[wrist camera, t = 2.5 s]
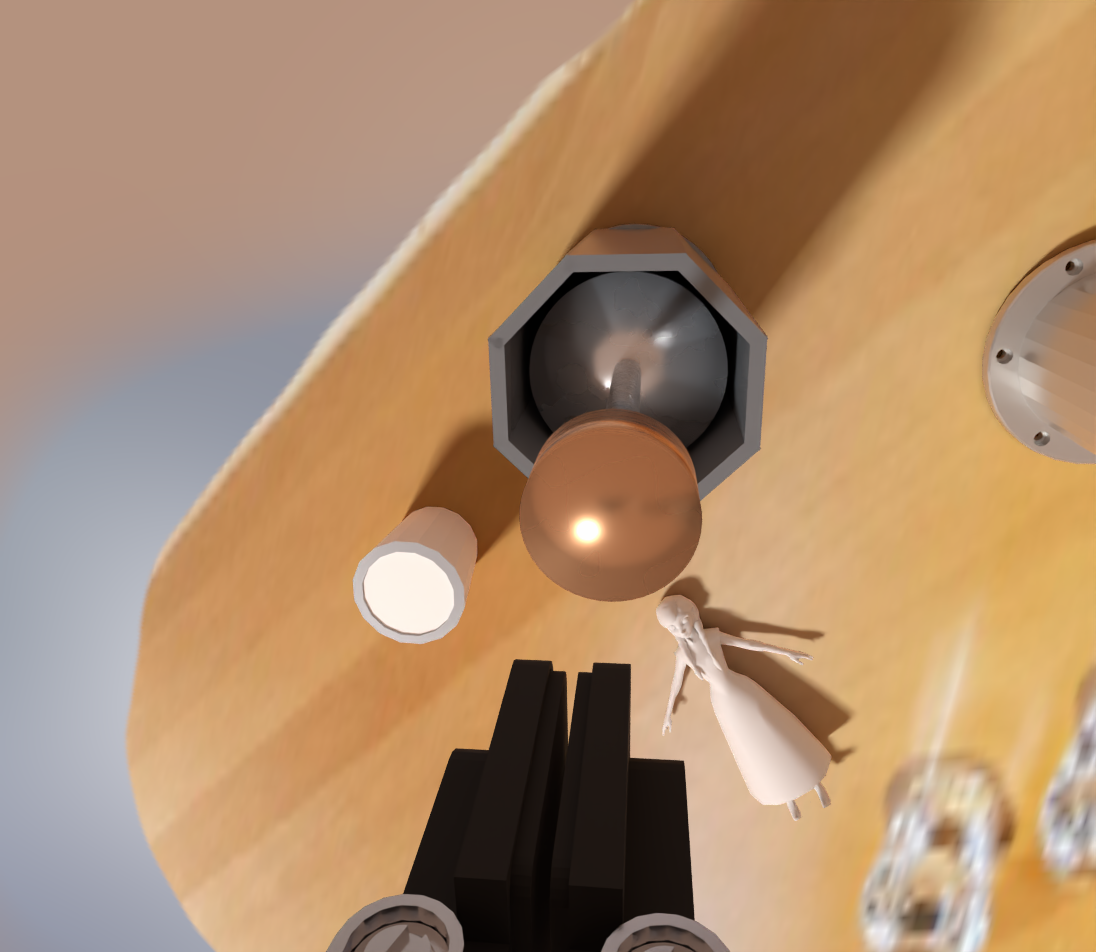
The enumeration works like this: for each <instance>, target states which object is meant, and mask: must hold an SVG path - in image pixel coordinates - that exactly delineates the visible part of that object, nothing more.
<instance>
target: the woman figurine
mask: <svg viewBox="0 0 1096 952" xmlns="http://www.w3.org/2000/svg"><path fill="white" fill-rule="evenodd" d="M656 614H657V618H658V620H659V623H660V624H661V625H662V626H664V627H665V628H668V630H669V631H670V632H671V633H672V634H673V635H674V636H675V638H676V640H677V641H678V643H679V646H678V647H677V649H676V650H675V652H674V654H675V655H676V667H675V673H674V678H673V682H672V686H671V692H670V697H669V701H668V706H667V710H666V714H665V719H664V724H663V728H662V732H663V736H664V733H665V729H668V728H667V726H669V732H671V725H672V720H671V717H670V716H671V713H672V709H673V705H674V702H675V698H676V696H677V695H678V693H679V690H680V688H681V686H682V682H683V675H684V670H685V667H686V665H688V666H689V667H691V668H692V669H693V670H694V672H695V674H696V675H697V676H698V677H699V678H700V679H701V680H703V678H704V679H706V680H707V681H708V682H709V683H710V696H711V703H712V706H713V709H714V711H715V714H716V717H717V719H718V721H719V724H720V726H721V728H722V731H723V733H724V735H725V737H726V740H727V742H728V744H729V747H730V749H731V751H732V754H733V756H734V758H735V760H736V763H737V765H738V767H739V769H740V772H741V774H742V776H743V778H744V780H745V783H746V785H747V787H748V789H749V792H750V794H751V795H752V796H753V797H754V798H755V799H757V800H758V801H759V802H760V803H761V804H762V805H780V804H783V803H786V802H787V805H788V808H789V810H790V813H791V815H792V817H793V819H794V821H796V820H798V819H800V818H801V813H800V811H799V809H798V807H797V805H796V803H795V801H794V799H797V798H798V797H800V796H802V795H804V794H805V793H807V792H809V791H811V790H812V789H813V788H814V789H815V790H816V791H817V793H818V796H819V798H820V801H821V803H822V806H823V808H825V807H827V806H829V805H831V803H830V798H829V796H828V794H827V791H826V790H825V788H824V786H823V785H822V784H821V782H820V781H821V780H822V779H823V778H824V777H825V776H826V773H827V770H828V767H829V764H830V760H831V757H832V756H831V755H830V753H829V752H828V751H827V750H826V748H825V747H824V746H823V745H822V743H821V742H820V741H819V740H818V739H817V738H816V737H815V736H814V735H813V734H812V733H811V732H810V731H809V730H808V729H807V728H806V727H805V726H804V725H803V724H802V722H801V721H800V720H799V719H798V718H797V717H796V716H795V715H794V714H793V713H791V712H790V711H789V710H788V709H787V708H786V707H784V706H783V705H782V704H781V703H780V702H779V701H777V700H776V699H775V698H774V697H773V696H772V695H770V694H769V693H768V692H767V691H766V690H765V689H763V688H762V687H761V686H760V685H759V684H758V683H756V682H755V681H753V680H752V679H750V678H749V677H747V676H746V675H742V674H739V673H736V672H734V671H732V670H730V669H728V666H727V663H726V661H725V658H724V655H723V651H722V648H721V645H722V644H723V645H731V646H736V647H740V648H744V649H749V650H755V651H768V652H773V653H778V654H783V655H787V656H788V657H789V658H790V659H791V660H793V661H795V662H797V663H799V664H801V665H803V663H802V662H800V661H799V660H798V659H799V658H806V659H810V660H813V659H812V658H813V657H812V656H810V655H808V654H806V653H803V652H800V651H794V650H790V649H786V648H782V647H777V646H773V645H769V644H765V643H763V642H760V641H756V640H749V639H744V638H740V637H736V636H732V635H729V634H726V633H724V632H721V631H719V628H718V627H716V628H708V629H703V624H702V622H701V620H700V618H699V611H698V608H697V606H696V605H695V604H694V603H693V602H692V601H691V600H690V599H688V598H686V597H684V596H682V595H672V596H667V597H665V598H664V599H663V600H662V601H661V602H660V604H659V605H658V607H657V608H656ZM810 803H811V802H810Z"/></svg>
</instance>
